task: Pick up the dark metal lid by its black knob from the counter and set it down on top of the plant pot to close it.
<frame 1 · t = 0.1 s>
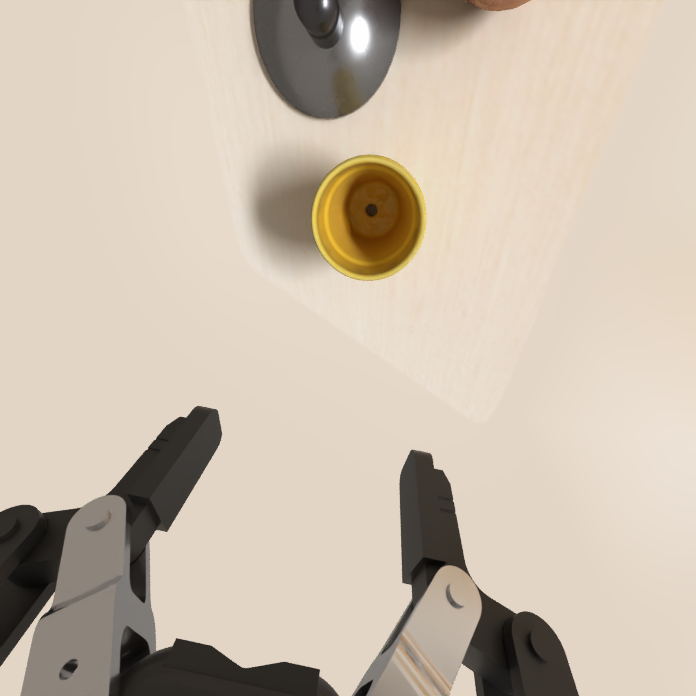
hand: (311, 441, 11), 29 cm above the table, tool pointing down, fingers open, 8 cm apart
lid: (327, 27, 25), on the table
plant pot: (372, 209, 33), on the table
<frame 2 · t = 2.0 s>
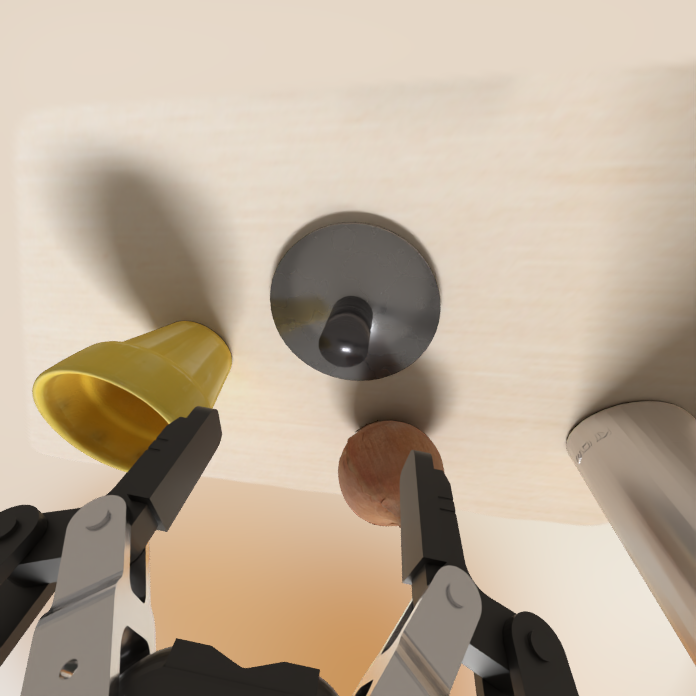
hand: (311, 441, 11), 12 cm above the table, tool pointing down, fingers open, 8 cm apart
lid: (353, 309, 22), on the table
plant pot: (199, 349, 26), on the table
onion: (390, 431, 29), on the table
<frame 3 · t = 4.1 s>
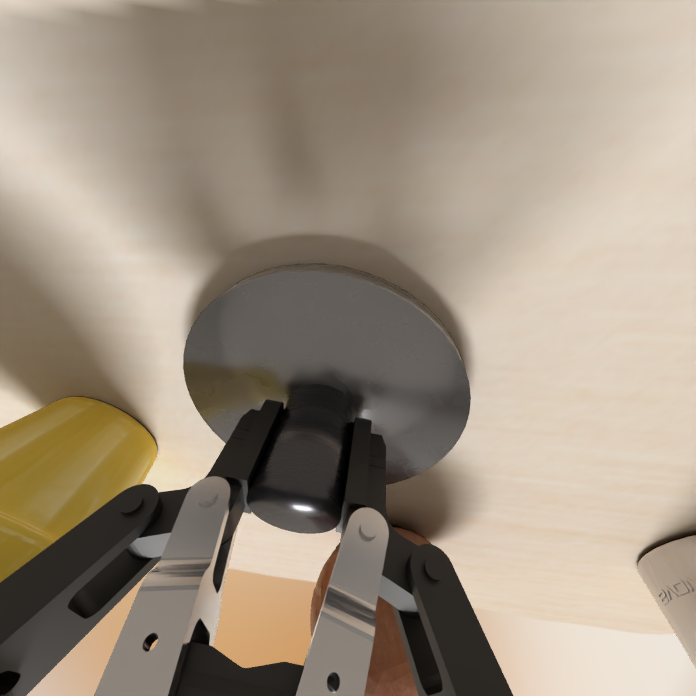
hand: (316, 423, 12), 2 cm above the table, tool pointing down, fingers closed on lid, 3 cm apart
lid: (325, 395, 14), on the table, touching gripper
plant pot: (109, 429, 18), on the table
onion: (386, 530, 21), on the table
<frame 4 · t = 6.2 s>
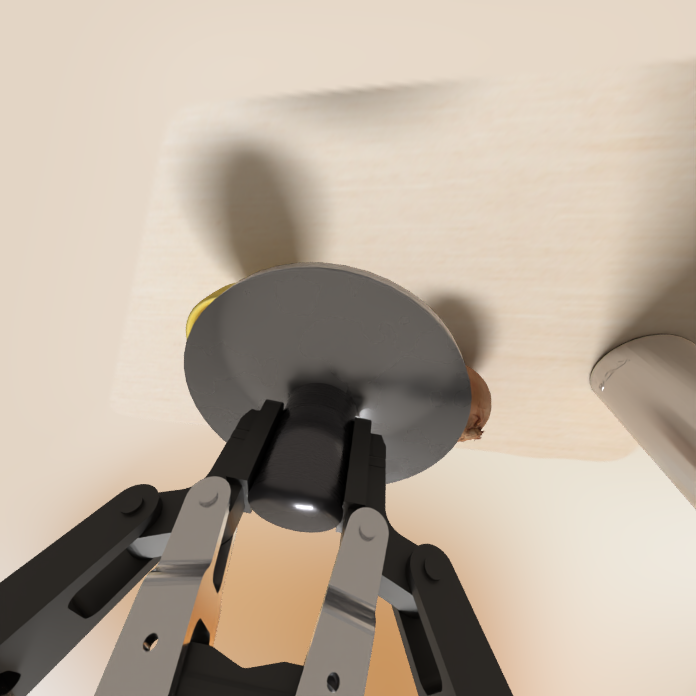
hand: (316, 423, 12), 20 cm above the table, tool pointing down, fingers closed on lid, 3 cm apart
lid: (326, 394, 14), point 18 cm above the table, touching gripper
plant pot: (282, 303, 32), on the table
onion: (437, 375, 34), on the table
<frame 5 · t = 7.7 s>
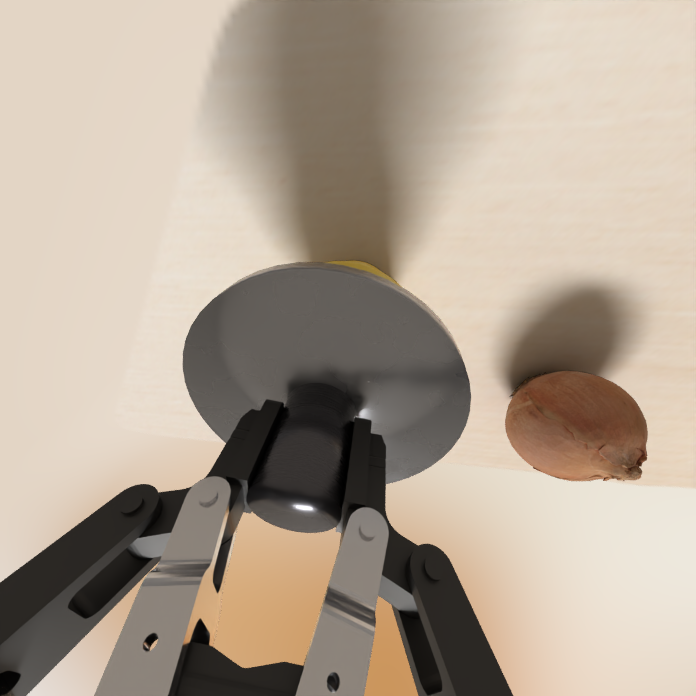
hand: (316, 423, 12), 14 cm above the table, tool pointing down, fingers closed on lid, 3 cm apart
lid: (325, 394, 14), point 13 cm above the table, touching gripper
plant pot: (353, 295, 24), on the table
onion: (543, 388, 27), on the table
when the fingers open (13 cm above the table, at t = 8.6 s): lid drops 2 cm, resting on plant pot.
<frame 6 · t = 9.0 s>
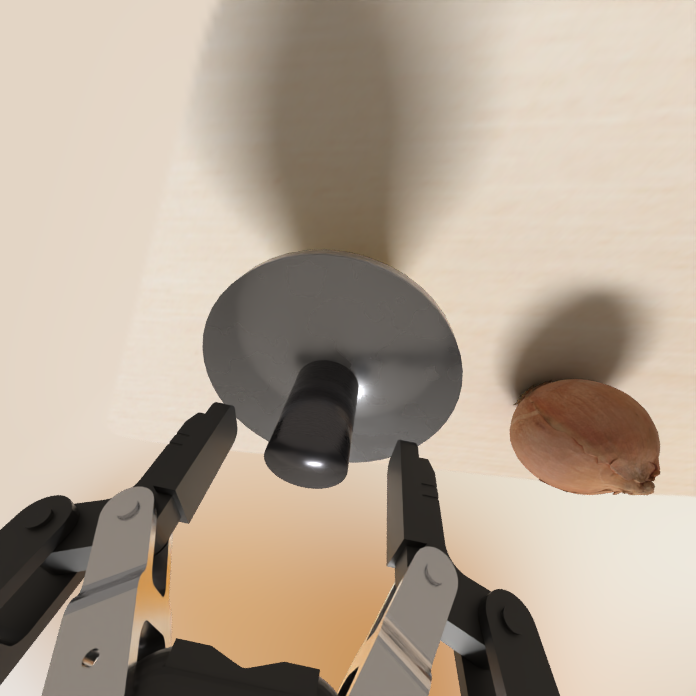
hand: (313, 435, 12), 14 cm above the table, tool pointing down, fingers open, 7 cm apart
lid: (331, 373, 15), point 10 cm above the table, touching plant pot
onion: (548, 396, 26), on the table
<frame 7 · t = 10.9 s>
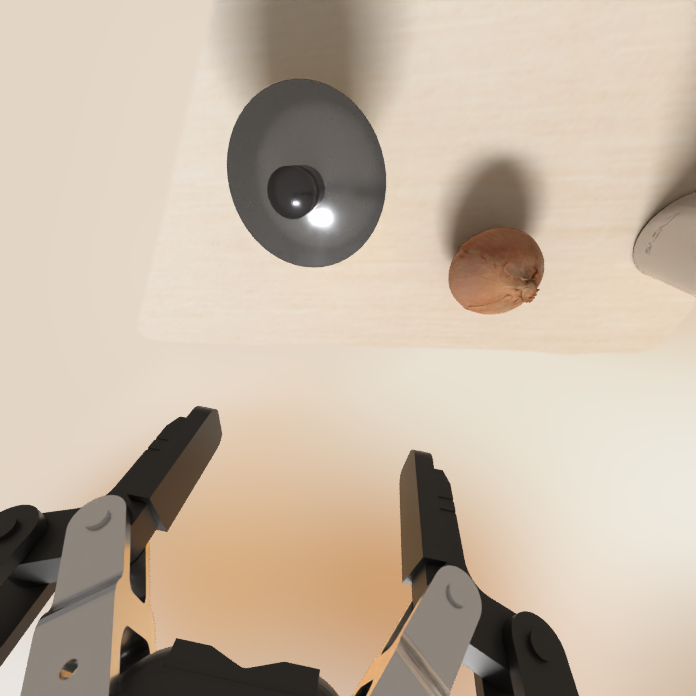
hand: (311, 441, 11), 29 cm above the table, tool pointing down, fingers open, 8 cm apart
lid: (308, 187, 23), point 10 cm above the table, touching plant pot
onion: (481, 260, 35), on the table
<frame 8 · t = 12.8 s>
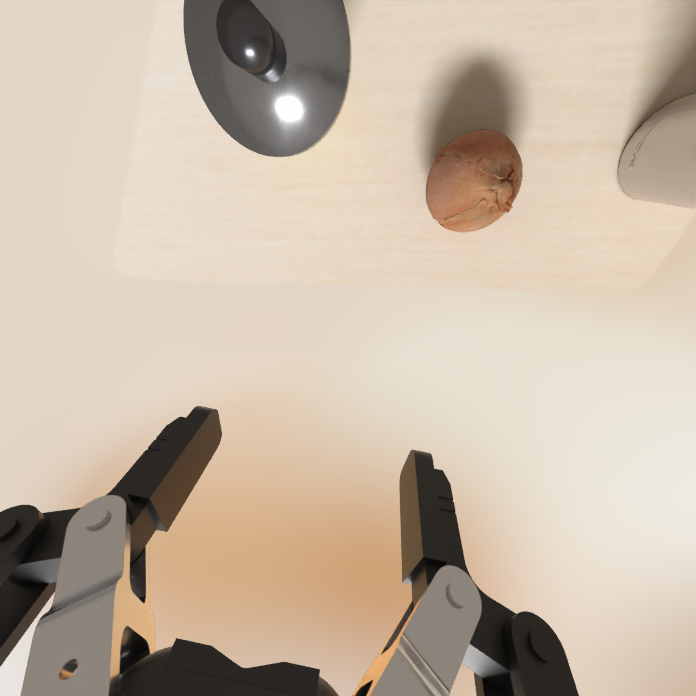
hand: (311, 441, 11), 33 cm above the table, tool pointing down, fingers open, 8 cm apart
lid: (271, 58, 22), point 10 cm above the table, touching plant pot
onion: (461, 182, 34), on the table
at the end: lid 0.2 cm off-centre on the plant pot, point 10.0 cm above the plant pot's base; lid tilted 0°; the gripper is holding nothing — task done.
